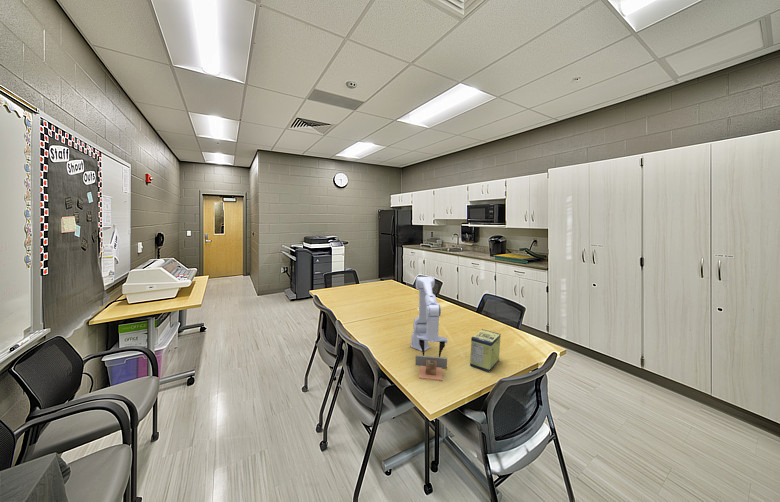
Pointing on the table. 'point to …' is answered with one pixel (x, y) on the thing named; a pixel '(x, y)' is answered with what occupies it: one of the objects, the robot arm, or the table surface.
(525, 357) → the table surface
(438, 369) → the terracotta tile
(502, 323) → the table surface
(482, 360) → the protein box
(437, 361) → the slate screen
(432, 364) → the walnut cube
